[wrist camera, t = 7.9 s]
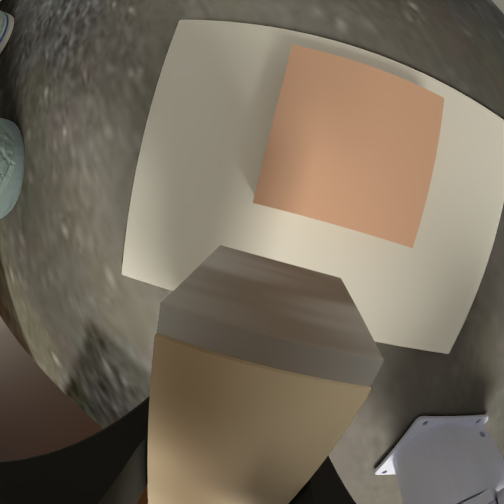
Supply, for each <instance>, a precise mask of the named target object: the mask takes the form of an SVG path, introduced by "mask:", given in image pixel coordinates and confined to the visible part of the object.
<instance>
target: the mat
mask: <svg viewBox="0 0 504 504" xmlns="http://www.w3.org/2000/svg"><path fill="white" fill-rule="evenodd" d="M292 45H297V46H301V47H306V48H310V49H314V50H318V51H322V52H326V53H330V54H333V55H337V56H340V57H344V58H347V59H350V60H353V61H356V62H359V63H362V64H365V65H368V66H371V67H374V68H377V69H380V70H382V71H385V72H387V73H390V74H393V75H395V76H398V77H400V78H402V79H405V80H407V81H409V82H412V83H414V84H416V85H418V86H421V87H423V88H425V89H427V90H429V91H431V92H433V93H435V94H437V95H439V96H441V97H443V98H444V106H443V114H442V122H441V129H440V135H439V142H438V147H437V153H436V158H435V164H434V168H433V173H432V178H431V182H430V187H429V191H428V195H427V199H426V203H425V207H424V211H423V215H422V218H421V222H420V225H419V229H418V232H417V236H416V239H415V242H414V245H413V248H410V247H407V246H404V245H401V244H398V243H395V242H391V241H388V240H385V239H382V238H378V237H375V236H372V235H369V234H365V233H362V232H358V231H355V230H352V229H348V228H345V227H341V226H338V225H334V224H331V223H327V222H324V221H320V220H316V219H313V218H309V217H305V216H302V215H298V214H294V213H290V212H287V211H283V210H279V209H275V208H271V207H267V206H263V205H259V204H255V203H253V200H254V195H255V191H256V187H257V183H258V179H259V175H260V171H261V167H262V163H263V159H264V154H265V150H266V146H267V142H268V138H269V134H270V130H271V126H272V122H273V118H274V114H275V110H276V106H277V102H278V98H279V94H280V90H281V86H282V82H283V79H284V75H285V71H286V67H287V63H288V59H289V55H290V51H291V47H292ZM503 203H504V120H503V119H502V118H500V117H499V116H497V115H496V114H494V113H493V112H491V111H490V110H488V109H487V108H485V107H484V106H482V105H480V104H479V103H477V102H476V101H474V100H472V99H471V98H469V97H467V96H465V95H464V94H462V93H460V92H458V91H457V90H455V89H453V88H451V87H449V86H448V85H446V84H444V83H442V82H440V81H438V80H436V79H434V78H432V77H430V76H428V75H426V74H423V73H421V72H419V71H417V70H415V69H412V68H410V67H408V66H406V65H403V64H401V63H398V62H396V61H393V60H391V59H388V58H386V57H383V56H380V55H378V54H375V53H372V52H369V51H366V50H363V49H360V48H357V47H354V46H351V45H348V44H344V43H341V42H338V41H334V40H330V39H327V38H323V37H319V36H315V35H310V34H306V33H301V32H297V31H292V30H286V29H281V28H275V27H269V26H262V25H255V24H247V23H238V22H227V21H212V20H179V23H178V25H177V28H176V30H175V33H174V36H173V38H172V41H171V44H170V47H169V50H168V52H167V55H166V58H165V61H164V64H163V67H162V70H161V74H160V77H159V80H158V83H157V87H156V90H155V94H154V97H153V101H152V104H151V108H150V112H149V115H148V119H147V123H146V127H145V131H144V136H143V140H142V144H141V149H140V154H139V158H138V163H137V168H136V173H135V179H134V184H133V190H132V196H131V202H130V208H129V215H128V222H127V230H126V238H125V246H124V256H123V266H122V275H125V276H128V277H131V278H134V279H137V280H140V281H143V282H146V283H149V284H152V285H155V286H158V287H162V288H165V289H168V290H171V291H174V290H175V289H176V288H177V287H178V286H179V285H180V284H181V283H182V282H183V281H184V280H185V279H186V278H187V277H188V276H189V275H190V274H191V273H192V272H193V271H194V270H195V269H196V268H197V267H198V266H199V265H200V264H201V263H202V262H203V261H204V260H205V259H206V258H207V257H208V256H210V255H211V254H212V253H213V252H214V251H215V250H216V249H217V248H218V247H219V246H220V245H222V246H226V247H229V248H233V249H237V250H240V251H244V252H248V253H251V254H255V255H258V256H262V257H266V258H269V259H273V260H277V261H280V262H284V263H288V264H291V265H295V266H299V267H302V268H306V269H310V270H313V271H317V272H321V273H324V274H328V275H332V276H335V277H339V278H341V279H342V281H343V283H344V285H345V287H346V288H347V290H348V292H349V294H350V296H351V298H352V299H353V301H354V303H355V305H356V307H357V309H358V311H359V312H360V314H361V316H362V318H363V320H364V322H365V324H366V326H367V328H368V330H369V332H370V334H371V336H372V338H373V340H374V341H375V342H380V343H385V344H391V345H396V346H402V347H407V348H413V349H419V350H425V351H432V352H438V353H445V354H449V352H450V350H451V348H452V346H453V345H454V343H455V341H456V339H457V336H458V334H459V332H460V330H461V328H462V326H463V324H464V322H465V319H466V317H467V315H468V313H469V310H470V308H471V306H472V303H473V301H474V298H475V296H476V293H477V291H478V288H479V285H480V283H481V280H482V277H483V274H484V272H485V269H486V266H487V263H488V260H489V256H490V253H491V250H492V247H493V243H494V240H495V236H496V232H497V229H498V225H499V221H500V216H501V212H502V208H503Z"/></svg>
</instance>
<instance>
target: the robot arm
mask: <svg viewBox="0 0 504 504" xmlns="http://www.w3.org/2000/svg"><path fill="white" fill-rule="evenodd" d="M149 399H150V396H149V397H148V398H147V399H146V400H144V401H143V402H142V403H141V404H139V405H138V406H137V407H136V408H134V409H133V410H132V411H130V412H129V413H127V414H126V415H125V416H123V417H122V418H120V419H119V420H117V421H116V422H114V423H113V424H111V425H109V426H108V427H106V428H105V429H103V430H101V431H100V432H98V433H96V434H94V435H92V436H90V437H88V438H86V439H84V440H82V441H80V442H78V443H75V444H73V445H70V446H68V447H65V448H63V449H60V450H57V451H54V452H51V453H48V454H43V455H39V456H35V457H31V458H27V459H22V460H14V461H5V462H0V504H137V503H138V500H139V498H140V496H141V494H142V492H143V490H144V489H145V487H146V485H147V483H148V419H149ZM488 418H489V417H488V415H486V414H485V415H469V416H420V417H418V418H417V419H416V420H415V421H414V422H413V424H412V425H411V427H410V428H409V429H408V431H407V432H406V433H405V434H404V436H403V437H402V438H401V440H400V441H399V442H398V443H397V445H396V446H395V447H394V448H393V449H392V451H391V452H390V453H389V454H388V455H387V457H386V458H385V459H384V460H383V461H382V462H381V463H380V465H379V466H378V467H377V468H376V469H375V470H374V472H375V474H376V475H387V474H396V477H397V481H398V485H399V488H400V492H401V496H402V500H403V504H504V458H503V456H502V454H501V452H500V451H499V449H498V447H497V446H496V444H495V442H494V440H493V439H492V437H491V435H490V434H489V432H488V431H487V429H486V427H485V426H484V424H485V423H486V421H487V420H488ZM289 504H356V503H355V501H354V500H353V499H352V497H351V496H350V494H349V492H348V491H347V489H346V488H345V486H344V484H343V483H342V481H341V479H340V477H339V476H338V474H337V472H336V470H335V468H334V466H333V464H332V462H331V460H330V458H329V456H327V458H326V459H325V460H324V462H323V463H322V464H321V466H320V467H319V468H318V469H317V471H316V472H315V473H314V474H313V476H312V477H311V478H310V479H309V480H308V482H307V483H306V484H305V485H304V486H303V488H302V489H301V490H300V491H299V492H298V493H297V495H296V496H295V497H294V498H293V499H292V500H291V501H290V502H289Z"/></svg>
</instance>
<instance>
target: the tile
mask: <svg viewBox="0 0 504 504" xmlns="http://www.w3.org/2000/svg"><path fill="white" fill-rule="evenodd" d="M443 106H444V98H443V97H441V96H439V95H437V94H435V93H433V92H431V91H429V90H427V89H425V88H423V87H421V86H418V85H416V84H414V83H412V82H409V81H407V80H405V79H402V78H400V77H398V76H395V75H393V74H390V73H387V72H385V71H382V70H380V69H377V68H374V67H371V66H368V65H365V64H362V63H359V62H356V61H353V60H350V59H347V58H344V57H340V56H337V55H333V54H330V53H326V52H322V51H318V50H314V49H310V48H306V47H301V46H297V45H292V47H291V51H290V55H289V59H288V63H287V67H286V71H285V75H284V79H283V82H282V86H281V90H280V94H279V98H278V102H277V106H276V110H275V114H274V118H273V122H272V126H271V130H270V134H269V138H268V142H267V146H266V150H265V154H264V159H263V163H262V167H261V171H260V175H259V179H258V183H257V187H256V191H255V195H254V200H253V203H255V204H259V205H263V206H267V207H271V208H275V209H279V210H283V211H287V212H290V213H294V214H298V215H302V216H305V217H309V218H313V219H316V220H320V221H324V222H327V223H331V224H334V225H338V226H341V227H345V228H348V229H352V230H355V231H358V232H362V233H365V234H369V235H372V236H375V237H378V238H382V239H385V240H388V241H391V242H395V243H398V244H401V245H404V246H407V247H410V248H413V245H414V242H415V239H416V236H417V232H418V229H419V225H420V222H421V218H422V215H423V211H424V207H425V203H426V199H427V195H428V191H429V187H430V182H431V178H432V173H433V168H434V164H435V158H436V153H437V147H438V142H439V135H440V129H441V122H442V114H443Z"/></svg>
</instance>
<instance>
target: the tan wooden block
mask: <svg viewBox="0 0 504 504" xmlns="http://www.w3.org/2000/svg"><path fill="white" fill-rule="evenodd" d="M383 362H384V360H383V358H382V356H381V353H380V351H379V349H378V347H377V345H376V343H375V341H374V340H373V338H372V336H371V334H370V332H369V330H368V328H367V326H366V324H365V322H364V320H363V318H362V316H361V314H360V312H359V311H358V309H357V307H356V305H355V303H354V301H353V299H352V298H351V296H350V294H349V292H348V290H347V288H346V287H345V285H344V283H343V281H342V279H341V278H339V277H335V276H332V275H328V274H324V273H321V272H317V271H313V270H310V269H306V268H302V267H299V266H295V265H291V264H288V263H284V262H280V261H277V260H273V259H269V258H266V257H262V256H258V255H255V254H251V253H248V252H244V251H240V250H237V249H233V248H229V247H226V246H222V245H220V246H219V247H218V248H217V249H216V250H215V251H214V252H213V253H212V254H211V255H210V256H208V257H207V258H206V259H205V260H204V261H203V262H202V263H201V264H200V265H199V266H198V267H197V268H196V269H195V270H194V271H193V272H192V273H191V274H190V275H189V276H188V277H187V278H186V279H185V280H184V281H183V282H182V283H181V284H180V285H179V286H178V287H177V288H176V289H175V290H174V291H173V292H172V293H171V294H170V295H169V296H168V297H167V298H166V299H165V300H164V301H163V302H162V303H161V306H160V313H159V321H158V329H157V334H156V335H155V339H154V349H153V359H152V371H151V384H150V399H149V419H148V504H289V502H290V501H291V500H292V499H293V498H294V497H295V496H296V495H297V493H298V492H299V491H300V490H301V489H302V488H303V486H304V485H305V484H306V483H307V482H308V480H309V479H310V478H311V477H312V476H313V474H314V473H315V472H316V471H317V469H318V468H319V467H320V466H321V464H322V463H323V462H324V460H325V459H326V458H327V456H328V455H329V454H330V452H331V451H332V450H333V448H334V447H335V445H336V444H337V443H338V441H339V440H340V438H341V437H342V435H343V434H344V433H345V431H346V430H347V428H348V427H349V425H350V424H351V422H352V421H353V419H354V417H355V416H356V414H357V413H358V411H359V410H360V408H361V406H362V405H363V403H364V402H365V400H366V398H367V397H368V395H369V393H370V391H371V387H370V386H371V385H372V383H373V381H374V379H375V377H376V376H377V374H378V372H379V370H380V368H381V366H382V364H383Z"/></svg>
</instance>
